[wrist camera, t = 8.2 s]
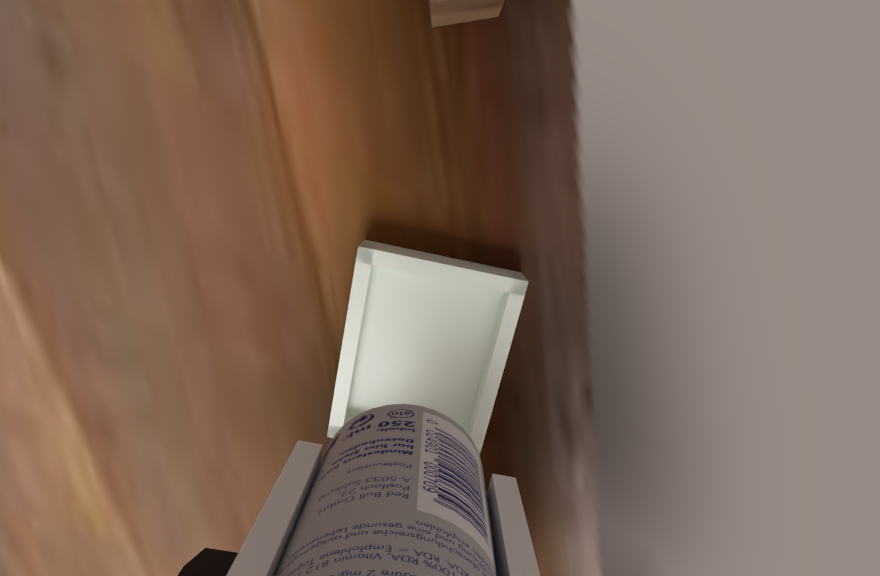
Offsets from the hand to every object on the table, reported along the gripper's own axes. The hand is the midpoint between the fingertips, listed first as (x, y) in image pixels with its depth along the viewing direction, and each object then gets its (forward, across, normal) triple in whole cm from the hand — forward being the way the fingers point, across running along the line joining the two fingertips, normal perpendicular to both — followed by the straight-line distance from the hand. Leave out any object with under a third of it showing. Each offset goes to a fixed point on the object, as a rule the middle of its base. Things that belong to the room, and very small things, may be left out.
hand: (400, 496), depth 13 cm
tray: (+18, 0, -2) cm, 18 cm away
